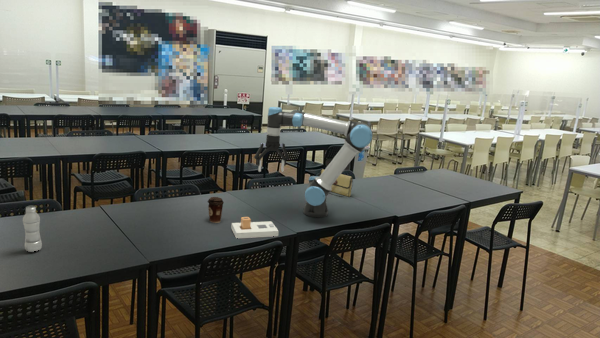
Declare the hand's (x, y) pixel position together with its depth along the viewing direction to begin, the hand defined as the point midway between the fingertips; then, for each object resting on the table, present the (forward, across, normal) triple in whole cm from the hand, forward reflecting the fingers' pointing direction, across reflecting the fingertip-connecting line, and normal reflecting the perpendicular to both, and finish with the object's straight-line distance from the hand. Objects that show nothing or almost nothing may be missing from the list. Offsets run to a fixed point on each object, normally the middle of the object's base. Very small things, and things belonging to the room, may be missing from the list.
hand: (270, 171), depth 252 cm
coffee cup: (+27, +32, +6) cm, 42 cm away
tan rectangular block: (+27, +19, +25) cm, 41 cm away
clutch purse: (+27, -59, -40) cm, 76 cm away
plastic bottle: (+27, +114, +33) cm, 122 cm away
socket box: (+27, +14, +25) cm, 39 cm away
